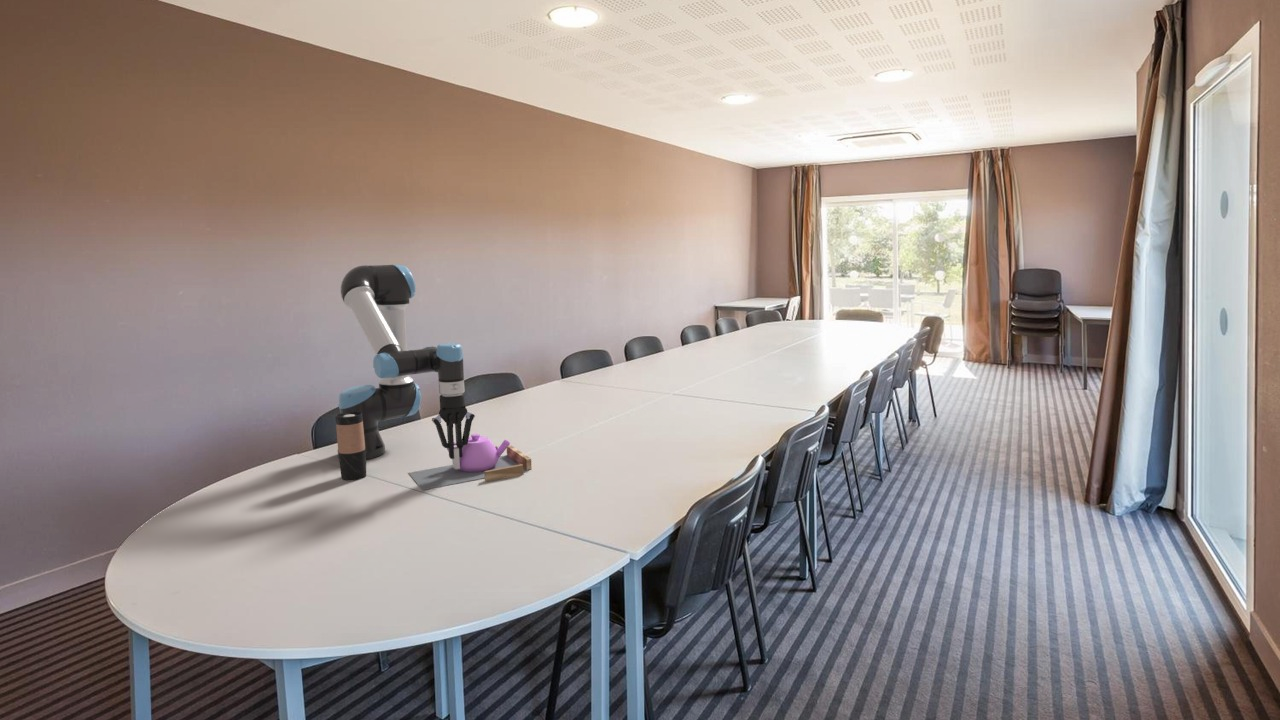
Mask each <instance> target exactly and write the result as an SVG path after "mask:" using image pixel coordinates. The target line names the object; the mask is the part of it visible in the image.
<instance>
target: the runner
mask: <svg viewBox="0 0 1280 720" xmlns="http://www.w3.org/2000/svg"><path fill="white" fill-rule="evenodd" d="M514 465H520V464H519V463H517V462H516V461H515V460H513V459H512V458H510V457H509V456H508V455H507V454H506V455H501V456H500V457H499V460H498V462H497V464H496V465H495V466H494V467H493V468H491V469H489V470H493V469H498V468H504V467H509V466H514ZM529 470H531V469H526V468H524V467H523V472H524V471H525V472H526V471H529ZM485 471H488V470H485ZM408 475H409V476H410V477H411V478H412V480H414V482H415V483H416V485H417V486H418V487H419V488H420V490H421V491H427V490H432V489H437V488H441V487H447V486H452V485H458V484H462V483H467V482H473V481H479V480H482V479H484V480H485V474H484V471H480V472H465V471H462V470H460V469H454V468H453V464H450V465H445V466H439V467H433V468H429V469H428V468H427V469H422V470H421V469H420V470H417V471H411V472H408Z"/></svg>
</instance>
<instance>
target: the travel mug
mask: <svg viewBox="0 0 1280 720" xmlns="http://www.w3.org/2000/svg"><path fill="white" fill-rule="evenodd" d="M335 428H336V429H335V430H336V441H337V455H338V454H339V458H338V461H339V469H340V476H341V480H342V481H346V482H350V481H351V482H352V481H353V482H354V481H359V480H361V479H364V478H366V477H367V459H366V453H365V440H364V429H363V419H362V413H361V412H350V413H349V414H343V413H340V412H339V413H337V414H336V415H335Z"/></svg>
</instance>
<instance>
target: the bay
mask: <svg viewBox="0 0 1280 720" xmlns="http://www.w3.org/2000/svg"><path fill="white" fill-rule="evenodd" d="M494 446H495V448H496V450H497V449H498V448H499V446H497V445H494ZM506 455H508V456H509V457H510V458H512V459H513V460H515V461H516V462H517V463H519V464H520V465H514V466H509V467H504V468H498V469H493V470H488V471H484V474H485V478H484V481H485V482H486V483H488V482H492V481H493V482H494V481H496V480H502V479H507V478H511V477H517V476H522V475H524V471H523V467H524V468H526V469H530V470H532V466H533V465H532V458H531V457H529V456H528V455H527V454H525V453H523V452H522V451H520V450H519V449H518V448H516V447H514V446H513V445H511V444H510V445H509V446H508V447H507V448H506Z"/></svg>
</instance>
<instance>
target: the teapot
mask: <svg viewBox="0 0 1280 720" xmlns="http://www.w3.org/2000/svg"><path fill="white" fill-rule="evenodd" d="M509 445H511V442H510V441H508V440H507V439H504V440H503V441H502V443H501V444H500V445H499V446H498V449H497V450H496V448H495V446H496V445H494V443H493V442H492V441H491V439H490V438H488V437H487V436H481V435H480V433H472V434H470V436H469V439H468V444H467V445H464V446H463V448H462V457H460V458H459V461H460V470H462V471H465V472H480V471H485V470H489V469H491V468H493V467H494V466H495V465H496V464H497V462H498V460H499V457H500V456H502V454H503V453H504V452H505V451H507V447H508V446H509ZM454 446H457V445H456V441H454ZM446 450H447V452H448V453H449V449H448V448H446Z"/></svg>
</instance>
